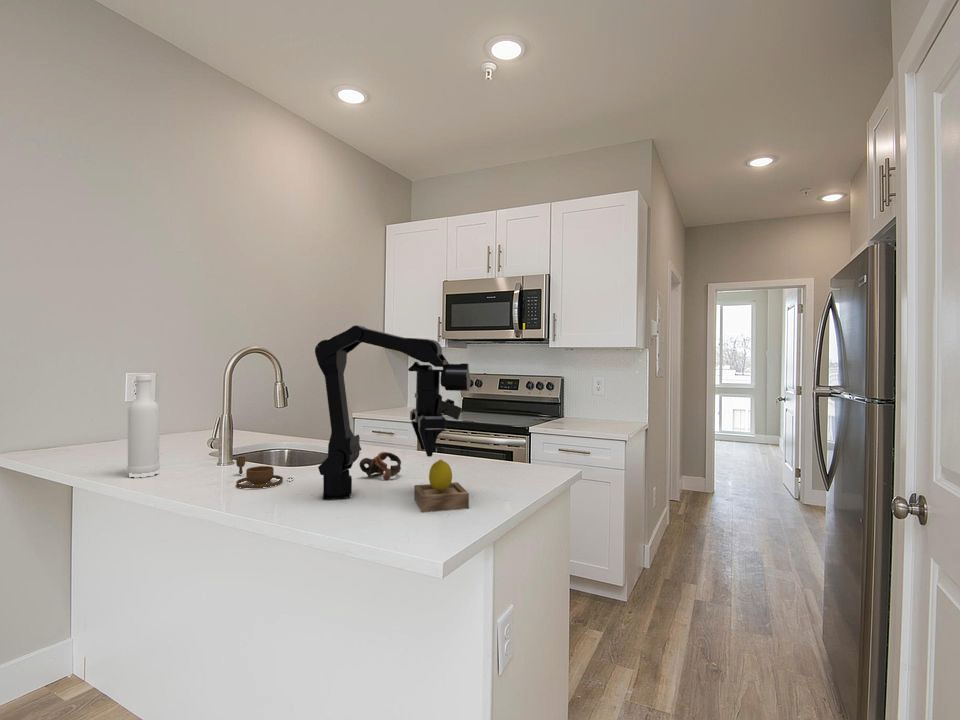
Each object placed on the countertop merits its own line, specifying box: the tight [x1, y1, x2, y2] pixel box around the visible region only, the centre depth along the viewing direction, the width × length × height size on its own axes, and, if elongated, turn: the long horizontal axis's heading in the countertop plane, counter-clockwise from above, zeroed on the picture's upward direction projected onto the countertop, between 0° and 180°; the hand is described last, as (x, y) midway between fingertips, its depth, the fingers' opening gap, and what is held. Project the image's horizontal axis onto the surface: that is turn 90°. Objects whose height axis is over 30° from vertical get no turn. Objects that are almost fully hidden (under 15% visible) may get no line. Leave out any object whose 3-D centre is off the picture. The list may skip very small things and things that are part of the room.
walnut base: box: [413, 481, 470, 513], centre depth 121 cm, size 11×11×4 cm
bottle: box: [126, 374, 161, 474], centre depth 150 cm, size 8×8×30 cm
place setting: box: [235, 456, 294, 489], centre depth 144 cm, size 18×20×6 cm
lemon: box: [428, 459, 453, 493], centre depth 121 cm, size 6×6×8 cm
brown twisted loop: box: [358, 451, 402, 481], centre depth 147 cm, size 12×10×8 cm
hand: (426, 452), depth 124 cm, fingers open, 9 cm apart
